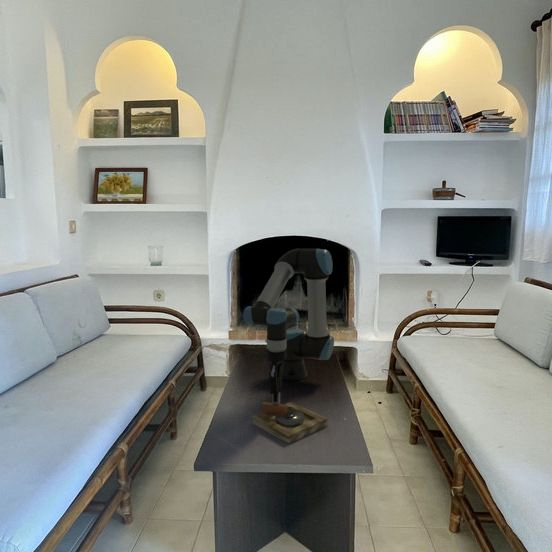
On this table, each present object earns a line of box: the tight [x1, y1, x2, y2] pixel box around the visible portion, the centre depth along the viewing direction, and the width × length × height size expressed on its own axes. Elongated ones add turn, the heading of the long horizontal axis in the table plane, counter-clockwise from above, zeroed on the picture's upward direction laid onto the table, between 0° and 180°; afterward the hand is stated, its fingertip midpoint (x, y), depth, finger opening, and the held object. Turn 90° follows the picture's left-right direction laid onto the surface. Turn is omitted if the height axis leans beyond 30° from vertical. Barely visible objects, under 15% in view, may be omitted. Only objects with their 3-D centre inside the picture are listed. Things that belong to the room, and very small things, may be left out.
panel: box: [252, 401, 329, 444], centre depth 157 cm, size 20×20×3 cm
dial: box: [260, 401, 304, 427], centre depth 157 cm, size 16×11×5 cm, turn 72°
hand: (276, 408), depth 160 cm, fingers closed
